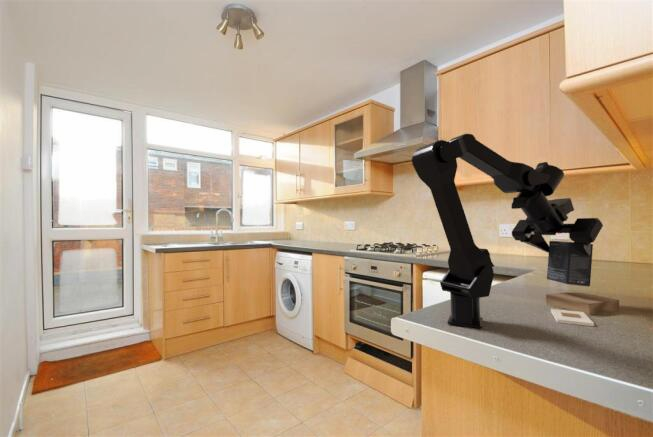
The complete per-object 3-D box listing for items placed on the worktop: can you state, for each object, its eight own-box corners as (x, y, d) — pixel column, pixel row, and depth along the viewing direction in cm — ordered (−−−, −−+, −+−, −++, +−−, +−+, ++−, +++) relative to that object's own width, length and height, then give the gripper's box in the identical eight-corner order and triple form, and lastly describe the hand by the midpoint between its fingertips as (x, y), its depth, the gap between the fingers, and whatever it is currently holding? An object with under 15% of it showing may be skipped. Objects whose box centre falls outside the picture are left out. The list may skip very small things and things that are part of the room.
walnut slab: (589, 314, 69) (588, 303, 69) (546, 304, 78) (545, 294, 79) (619, 310, 72) (619, 299, 72) (574, 300, 81) (574, 291, 81)
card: (594, 326, 61) (594, 322, 61) (557, 322, 64) (557, 318, 64) (583, 314, 69) (583, 311, 69) (550, 311, 72) (550, 308, 72)
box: (590, 287, 74) (593, 243, 74) (566, 284, 74) (569, 241, 75) (568, 281, 82) (570, 242, 82) (545, 279, 82) (548, 240, 82)
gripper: (596, 181, 68) (626, 230, 72) (517, 191, 85) (545, 230, 89) (575, 216, 65) (607, 265, 69) (497, 219, 82) (527, 258, 86)
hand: (568, 252), depth 78 cm, fingers closed on box, 9 cm apart
